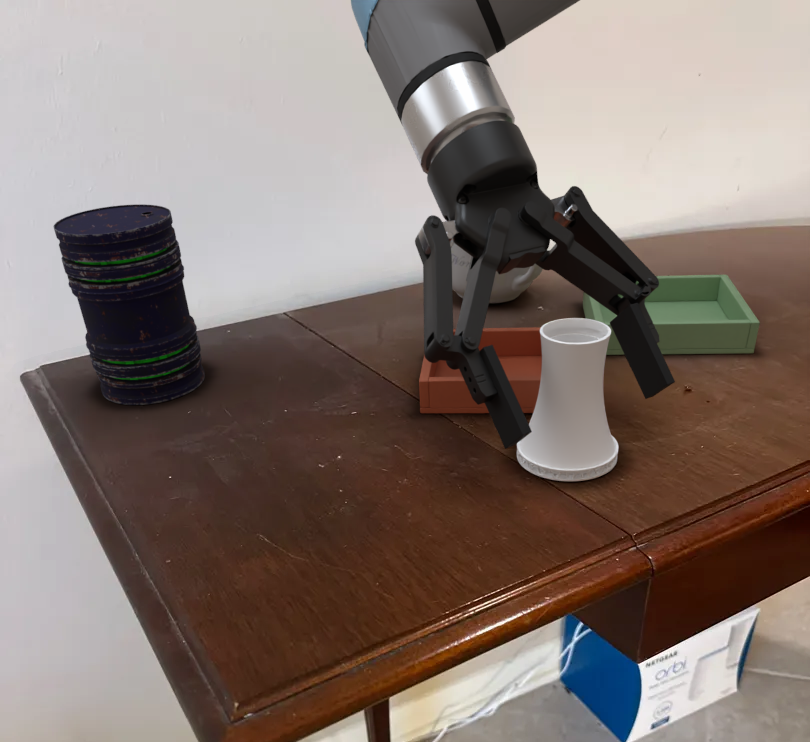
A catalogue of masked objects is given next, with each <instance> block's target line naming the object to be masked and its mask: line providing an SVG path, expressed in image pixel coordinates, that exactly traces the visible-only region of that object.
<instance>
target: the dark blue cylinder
mask: <svg viewBox="0 0 810 742" xmlns="http://www.w3.org/2000/svg"><path fill="white" fill-rule="evenodd" d="M53 231H54V233H55V237H56V239H57V240H58V241H59V242H58V243H59V244H58V247H59V251H60V255H61V262H62V266H63V269H64V273H65V274H66V275H67V276H66V277H67V279H68V282H67V283H68V287H69V288H70V289H71V290H70V291H71V294H73V296H75V297H76V299H77V303H78V306H79V308H80V312H81V317H82V319H83V322H84V326H85V329H86V333H85V336H84V338H85V342H86V343H85V347H86V348H87V350H88V353H89V358H90V362H91V364H92V365H91V366H92V368H93V370H94V371H95V373H96V376H97V379H98V380H99V382H100V390H101V394H102V396H103V397H104V398H105V399H106V400H108V401H109V402H112V403H115V404H119V405H127V406H143V405H152V404H159V403H165V402H168V401H171V400H175V399H177V398H180V397H183V396H185V395H187V394H189V393H191V392H193V391H195V390H196V389H198V388H199V387H200V386H201V385H202V384H203V382H204V381H205V378H206V375H205V374H206V373H205V368H204V366H203V365H202V355H201V354H202V353H201V350H202V349H201V343H200V339H199V336H198V332H197V330H198V326H197V324H196V322H195V319H194V317H193V316H192V315H191V314H190V309H189V305H188V304H189V303H188V300H187V296H186V290H185V286H184V279H185V271H184V270H185V266H184V265H183V262H182V258H181V257H182V252H181V248H180V243H179V241H178V240H177V235H176V231H175V228H174V227H173V217H172V213H171V210H170V209H169V208H167V207H166V206H161V205H157V204H156V205H155V204H120V205H111V206H104V207H98V208H93V209H88V210H84V211H79V212H76V213H73V214H71V215H68V216H65V217H63V218H61V219H59V220H57V221H56V222H55V223H54V224H53Z"/></svg>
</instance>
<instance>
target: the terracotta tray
mask: <svg viewBox="0 0 810 742" xmlns="http://www.w3.org/2000/svg"><path fill="white" fill-rule="evenodd" d="M541 327H542V326H541ZM541 327H539V326H538V327H537V326H536V327H535V326H534V327H533V326H532V327H483V331H482V336H481V340H480V345H479V347H478V348H479V350H481V349H482V348H483V347H486V346H490V345H493V347H494V349H495V351H496V354H497V356H498V358H499V360H500V362H501V365H502V367H503V369H504V371H505V373H506V376H507V378H508V380H509V382H510V385H511V387H512V389H513V391H514V393H515V396H516V398H517V400H518V402H519V404H520V407H521V409H522V411H523V413H524V414H533V412H534V409H535V406H536V402H537V398H538V393H539V388H540V381H541V370H542V348H541V336H540V328H541ZM455 331H456V328H453V335H455ZM418 389H419V391H418V392H419V412H420V414H489V412H488V409H487V407H486V405H485V403H482V404H479V405H478V404H477V403H476V402H475V401H474V400H473V399H472V396H471V394H470V391H469V390H468V388H467V385H466V383H465V381H464V379H463V376H462V374H461V372H460V370H459V369H456V370H454V369H451V368H449V366H448V365H447V363H446V361H444V360H439V361H438V362H436V363H431V362H429V361H428V360H427V359H426V358H425V355H424V354H423V360H422V364H421V369H420V373H419V379H418Z"/></svg>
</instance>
